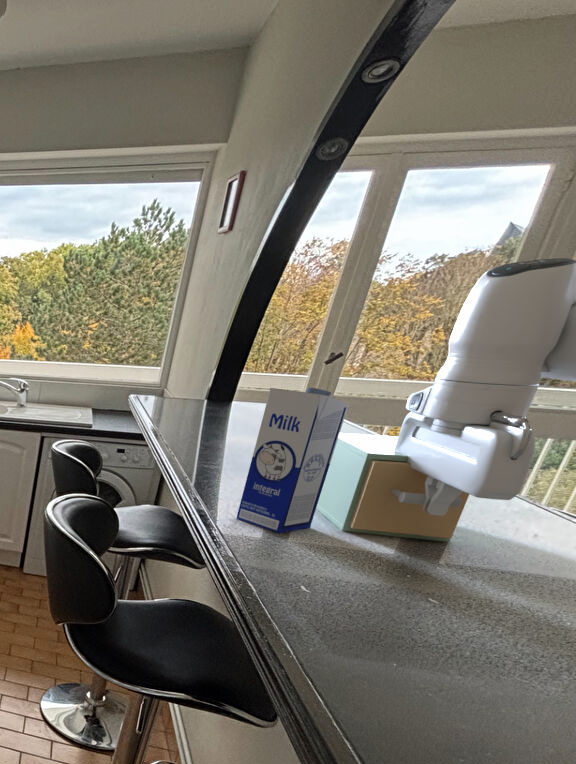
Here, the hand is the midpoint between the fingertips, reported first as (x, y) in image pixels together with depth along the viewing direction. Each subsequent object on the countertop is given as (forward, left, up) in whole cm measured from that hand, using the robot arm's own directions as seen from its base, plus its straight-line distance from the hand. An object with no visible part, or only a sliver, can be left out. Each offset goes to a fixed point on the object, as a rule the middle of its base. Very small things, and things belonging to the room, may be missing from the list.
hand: (432, 513), depth 77 cm
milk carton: (+15, -7, -6) cm, 18 cm away
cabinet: (0, -14, -6) cm, 15 cm away
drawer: (0, -10, -5) cm, 11 cm away
